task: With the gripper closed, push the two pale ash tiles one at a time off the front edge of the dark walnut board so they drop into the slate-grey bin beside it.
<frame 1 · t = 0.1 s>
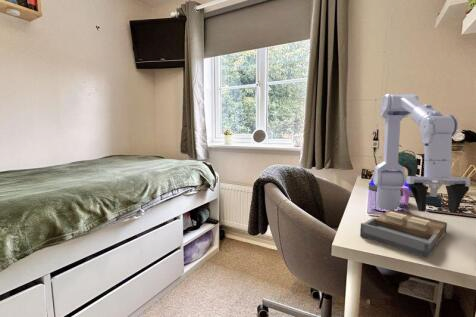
hand: (437, 211, 68), 10 cm above the table, tool pointing down, fingers open, 7 cm apart
tile 1: (395, 221, 81), point 3 cm above the table, touching walnut board
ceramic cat: (398, 177, 156), on the table
walnut board: (409, 230, 81), on the table
tile 2: (417, 226, 76), point 3 cm above the table, touching walnut board
slate bin: (396, 241, 74), on the table
grey and teal figurine: (432, 204, 106), on the table
toy chair: (394, 203, 108), on the table
roof: (396, 191, 126), on the table
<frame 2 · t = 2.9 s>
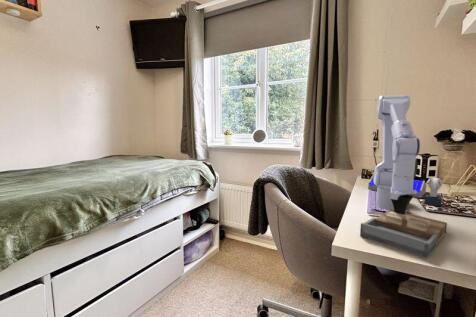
hand: (399, 216, 83), 4 cm above the table, tool pointing down, fingers closed
tile 1: (395, 221, 81), point 3 cm above the table, touching gripper, walnut board
everything else where it was.
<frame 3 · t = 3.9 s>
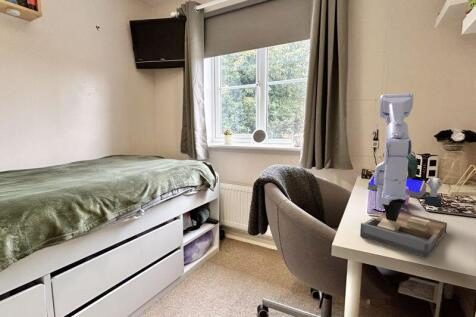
hand: (391, 222, 78), 4 cm above the table, tool pointing down, fingers closed
tile 1: (388, 229, 76), point 2 cm above the table, tilted 14°, touching gripper
everything else where it was.
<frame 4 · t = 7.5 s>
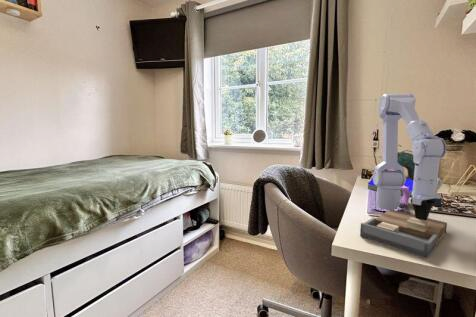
hand: (420, 222, 78), 4 cm above the table, tool pointing down, fingers closed
tile 1: (387, 232, 76), point 1 cm above the table, touching slate bin
tile 2: (417, 227, 76), point 3 cm above the table, touching gripper
everything else where it was.
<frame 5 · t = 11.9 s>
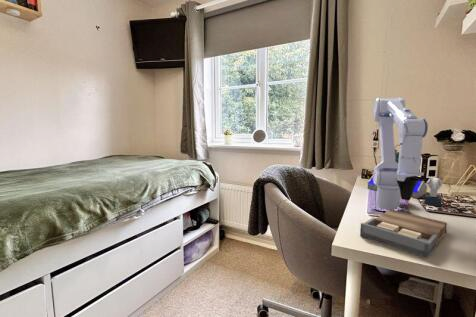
hand: (405, 199, 82), 9 cm above the table, tool pointing down, fingers closed
tile 2: (408, 239, 71), point 1 cm above the table, touching slate bin
at the end: tile 1 inside the target area (3.2 cm from its centre), point 1.5 cm above the table; tile 2 inside the target area (3.1 cm from its centre), point 1.5 cm above the table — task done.
